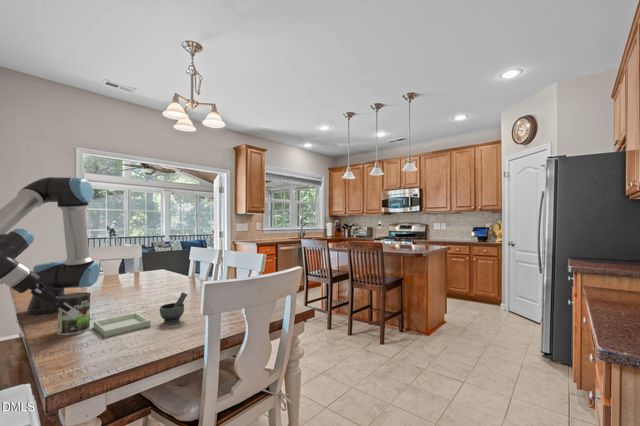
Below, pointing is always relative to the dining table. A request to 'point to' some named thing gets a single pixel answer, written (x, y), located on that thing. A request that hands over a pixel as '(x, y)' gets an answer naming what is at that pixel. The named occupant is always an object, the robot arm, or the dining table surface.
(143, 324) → the tray
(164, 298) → the dining table surface
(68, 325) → the coffee can
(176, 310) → the mortar and pestle
